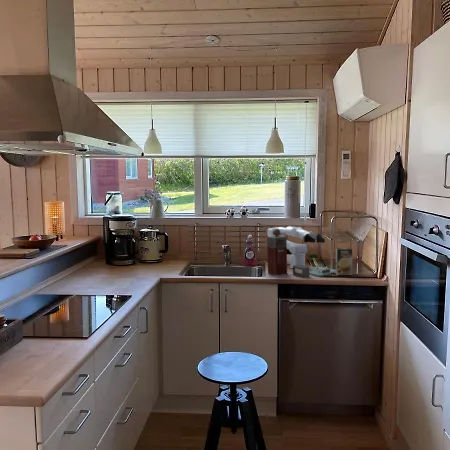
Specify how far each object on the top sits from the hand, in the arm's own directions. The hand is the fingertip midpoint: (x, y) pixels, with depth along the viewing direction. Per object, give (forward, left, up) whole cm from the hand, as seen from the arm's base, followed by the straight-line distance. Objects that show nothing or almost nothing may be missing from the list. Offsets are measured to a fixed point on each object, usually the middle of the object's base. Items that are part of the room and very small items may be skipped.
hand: (319, 241), depth 274 cm
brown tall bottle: (-18, -18, -20) cm, 33 cm away
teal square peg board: (-3, +2, -20) cm, 21 cm away
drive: (-3, -13, -20) cm, 24 cm away
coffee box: (+12, +8, -20) cm, 25 cm away
